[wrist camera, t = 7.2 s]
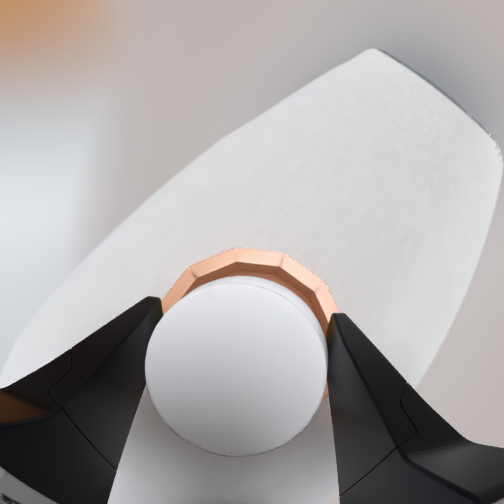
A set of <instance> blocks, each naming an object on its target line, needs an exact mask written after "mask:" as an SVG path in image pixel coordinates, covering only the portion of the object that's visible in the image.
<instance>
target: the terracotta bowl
mask: <svg viewBox="0 0 504 504" xmlns="http://www.w3.org/2000/svg"><path fill="white" fill-rule="evenodd" d="M189 267H190V269H191V270H190V269H189V268H187V269H186V270H185V271H184V273H183V274H182V275H181V277H180V278H179V279H178V280H177V282H176V283H175V284H174V286H173V287H172V288H171V289H170V291H169V292H168V293H167V295H166V296H165V297H164V299H163V300H162V301H161V303H162V309H163V315H164V314H165V313H166V312H167V311H168V310H169V309H170V308H171V307H172V306H173V305H174V304H175V303H176V302H178V301H179V300H180V299H182V298H183V297H185V296H186V295H187V294H188V293H190V292H191V291H192V290H194V289H196V288H197V287H199V286H201V285H203V284H206V283H208V282H211V281H214V280H217V279H221V278H225V277H232V276H252V277H258V278H263V279H266V280H270V281H273V282H275V283H277V284H279V285H282V286H284V287H286V288H287V289H289V290H290V291H292V292H293V293H294V294H296V295H297V296H298V297H299V298H301V299H302V300H303V301H304V302H305V303H306V304H307V306H308V307H309V308H310V309H311V311H312V312H313V313H314V315H315V316H316V318H317V320H318V321H319V323H320V326H321V328H322V330H323V333H324V336H325V339H326V332H327V328H328V325H329V321H330V317H331V315H332V314H333V313H339V311H338V308H337V306H336V304H335V302H334V299H333V297H332V295H331V293H330V291H329V289H328V286H327V284H324V285H323V283H324V281H323V280H322V279H320V278H319V277H318V276H316V275H315V274H313V273H312V272H311V271H309V270H308V269H306V268H305V267H304V266H302V265H301V264H299V263H298V262H297V261H295V260H294V259H292V258H291V257H290V256H288V255H287V254H285V255H284V257H283V253H281V252H272V251H263V250H254V249H245V248H236V249H235V251H234V248H232V249H229V250H227V251H224V252H222V253H220V254H217V255H215V256H212V257H210V258H208V259H205V260H203V261H201V262H198V263H196V264H193V265H191V266H189ZM328 394H329V393H328V386H327V378H326V386H325V390H324V394H323V397H322V400H321V403H322V402H323V401H324V399H325V398H326V397H327V395H328ZM321 403H320V405H321ZM320 405H319V406H320Z"/></svg>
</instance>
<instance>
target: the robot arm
mask: <svg viewBox="0 0 504 504" xmlns="http://www.w3.org/2000/svg"><path fill="white" fill-rule="evenodd" d="M163 316H164V315H163V309H162V303H161V299H160V298H159V297H152V296H148V297H146V298H144V299H143V300H141V301H140V302H138V303H137V304H135V305H134V306H132V307H131V308H129V309H128V310H126V311H125V312H123V313H122V314H120V315H119V316H117V317H116V318H114V319H113V320H111V321H110V322H108V323H107V324H106V325H104V326H103V327H101V328H100V329H98V330H97V331H95V332H94V333H92V334H91V335H89V336H88V337H86V338H85V339H84V340H82V341H81V342H79V343H78V344H76V345H75V346H73V347H72V348H71V349H69V350H67V351H66V352H65V353H63V354H62V355H60V356H59V357H57V358H56V359H54V360H53V361H51V362H50V363H48V364H46V365H44V366H43V367H41V368H39V369H38V370H36V371H34V372H32V373H31V374H29V375H27V376H25V377H24V378H22V379H20V380H18V381H17V382H15V383H13V384H11V385H9V386H7V387H4V388H1V389H0V504H107V503H108V499H109V496H110V492H111V489H112V485H113V482H114V479H115V475H116V472H117V471H116V470H117V468H118V465H119V462H120V459H121V456H122V452H123V449H124V446H125V443H126V440H127V437H128V434H129V431H130V428H131V425H132V422H133V419H134V416H135V413H136V411H137V408H138V405H139V402H140V399H141V396H142V393H143V391H144V388H145V385H146V376H145V358H146V353H147V348H148V344H149V341H150V338H151V336H152V333H153V331H154V329H155V327H156V326H157V324H158V323H159V321H160V320H161V318H162V317H163ZM326 344H327V349H328V371H327V386H328V393H329V400H330V408H331V416H332V425H333V433H334V442H335V452H336V462H337V472H338V484H339V496H340V504H504V448H499V447H493V446H487V445H482V444H477V443H474V442H471V441H469V440H467V439H466V438H464V437H463V436H462V435H461V434H459V433H458V432H457V431H456V430H455V429H454V428H453V427H452V426H451V425H450V424H449V423H448V422H446V421H445V420H444V419H443V418H442V417H441V416H440V415H439V414H438V413H437V412H436V411H434V410H433V409H432V407H431V406H429V405H428V404H427V403H426V402H425V401H424V400H423V399H422V398H421V396H420V395H419V394H418V393H417V392H416V391H415V390H414V389H413V388H412V386H411V385H410V384H409V383H407V381H406V380H405V379H404V378H403V376H402V375H401V374H400V373H399V372H398V371H397V370H396V369H395V368H394V366H393V365H392V364H391V363H390V362H389V361H388V360H387V359H386V358H385V356H384V355H383V354H382V353H381V352H380V351H379V350H378V349H377V348H376V346H375V345H374V344H373V343H372V342H371V341H370V340H369V339H368V338H367V337H366V336H365V334H364V333H363V332H362V331H361V330H360V329H359V328H358V327H357V326H356V325H355V324H354V323H353V321H352V320H351V319H350V318H349V317H348V316H347V315H346V314H345V313H333V314H332V315H331V317H330V321H329V325H328V328H327V332H326Z"/></svg>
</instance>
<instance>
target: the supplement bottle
mask: <svg viewBox="0 0 504 504" xmlns="http://www.w3.org/2000/svg"><path fill="white" fill-rule="evenodd" d="M327 371H328V349H327V344H326V339H325V336H324V333H323V330H322V328H321V326H320V323H319V321H318V320H317V318H316V316H315V315H314V313H313V312H312V311H311V309H310V308H309V307H308V306H307V304H306V303H305V302H304V301H303V300H302V299H301V298H299V297H298V296H297V295H296V294H294V293H293V292H292V291H290V290H289V289H287V288H286V287H284V286H282V285H279V284H277V283H275V282H273V281H270V280H266V279H263V278H258V277H252V276H232V277H225V278H221V279H217V280H214V281H211V282H208V283H206V284H203V285H201V286H199V287H197V288H196V289H194V290H192V291H191V292H190V293H188V294H187V295H186V296H185V297H183V298H182V299H180V300H179V301H178V302H176V303H175V304H174V305H173V306H172V307H171V308H170V309H169V310H168V311H167V312H166V313H165V314H164V316H163V317H162V318H161V320H160V321H159V323H158V324H157V326H156V327H155V329H154V331H153V333H152V336H151V338H150V341H149V344H148V348H147V353H146V358H145V376H146V384H147V388H148V392H149V395H150V398H151V400H152V403H153V405H154V407H155V409H156V411H157V412H158V414H159V415H160V417H161V418H162V420H163V421H164V422H165V423H166V425H167V426H168V427H169V428H170V429H171V430H172V431H173V432H174V433H175V434H177V435H178V436H179V437H180V438H182V439H183V440H185V441H186V442H188V443H189V444H191V445H193V446H195V447H197V448H199V449H201V450H204V451H207V452H210V453H213V454H218V455H223V456H233V457H242V456H252V455H257V454H262V453H265V452H268V451H271V450H273V449H276V448H278V447H280V446H282V445H284V444H285V443H287V442H289V441H290V440H291V439H293V438H294V437H295V436H297V435H298V434H299V433H300V432H301V431H302V430H303V429H304V428H305V427H306V426H307V425H308V423H309V422H310V421H311V419H312V418H313V416H314V414H315V413H316V411H317V409H318V407H319V405H320V403H321V400H322V397H323V394H324V390H325V386H326V378H327Z"/></svg>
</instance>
